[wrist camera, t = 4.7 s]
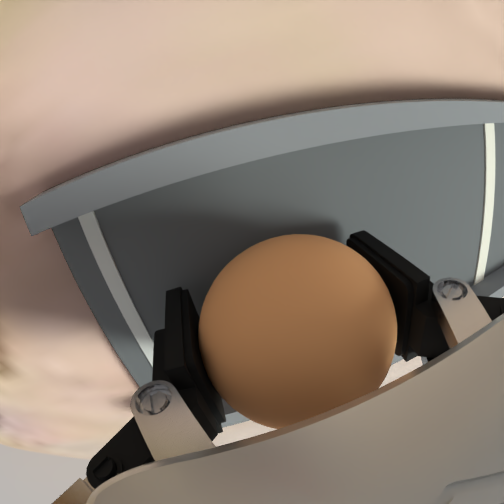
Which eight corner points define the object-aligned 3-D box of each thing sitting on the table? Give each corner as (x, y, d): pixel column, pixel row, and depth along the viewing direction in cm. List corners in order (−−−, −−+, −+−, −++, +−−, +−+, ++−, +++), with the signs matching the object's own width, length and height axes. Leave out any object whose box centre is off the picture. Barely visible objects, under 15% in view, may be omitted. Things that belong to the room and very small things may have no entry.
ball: (170, 237, 10) (166, 366, 5) (334, 190, 11) (455, 261, 5) (218, 361, 13) (246, 483, 7) (345, 318, 13) (418, 413, 8)
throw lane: (43, 191, 9) (19, 206, 7) (560, 107, 12) (577, 111, 11) (162, 411, 14) (163, 439, 12) (553, 233, 18) (567, 241, 16)
